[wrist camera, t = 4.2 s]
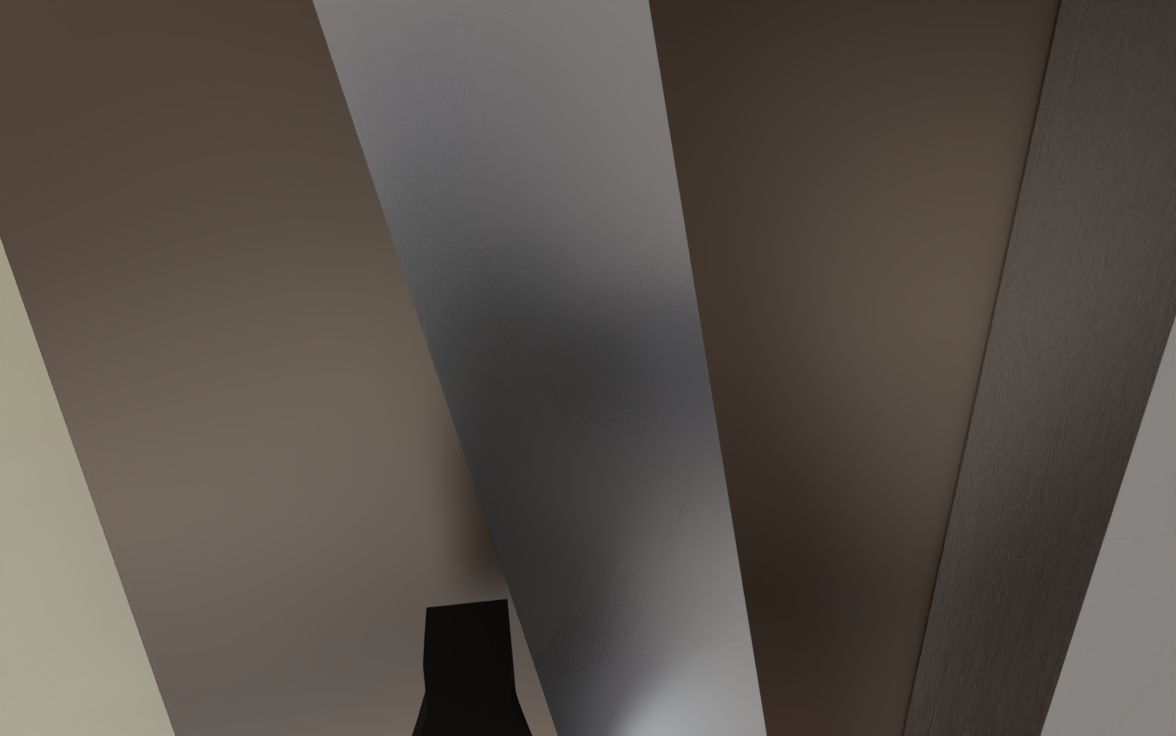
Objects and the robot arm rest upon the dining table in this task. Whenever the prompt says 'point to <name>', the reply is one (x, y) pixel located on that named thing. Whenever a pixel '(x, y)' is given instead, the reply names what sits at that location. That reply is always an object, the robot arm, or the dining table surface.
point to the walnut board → (406, 370)
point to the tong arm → (564, 339)
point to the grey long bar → (1073, 418)
